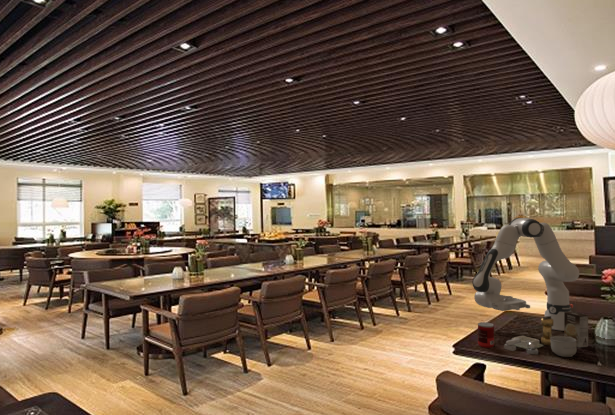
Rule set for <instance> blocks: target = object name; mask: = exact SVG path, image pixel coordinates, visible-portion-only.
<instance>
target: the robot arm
mask: <svg viewBox="0 0 615 415" xmlns="http://www.w3.org/2000/svg"><path fill="white" fill-rule="evenodd" d="M521 237H523V238H529V239H531V238H533V239H534V243H535V244H536V248H537V250H538V253H539V254H540V256H541V257H542V258H543V259H544V260H542V261H541V262H540V263H539V264H538V268H537V269H538V272H539V274H540V276H542V278H543V280H544V283H545V286H546V293H547V302H546V310H545V311H544V317H546V316H551V319H553V326H552V330H556V331H562V332H563V331H564V312H570V311H572V309H573V308H574V304H572V303H570V291H569V289H568V288H567V287H566V285H565V282H566V283H567V282H568V283H569V282H570V283H571V282H576V281H577V280H578V279H579V277H580V270H579V268H578V267H577V266H576V265H575V264H574V263H573V262H571V261H570V259H568V257H567V256H566V255H565V253H564V252H563V251H562V248H561V247H560V244H559V241H558V240H557V236H556V235H555V233H554V231H553V229H552V227H551V226H550V224H549V223H546V222H540V221H538V220H537V219H534V218H528V217H515V218H513V219H512V220H511V221H510V222H509V224H504V225H502V226H501V227H500V230H499V231H498V233H497V235H496V238H495V241H494V243H493V245H492V246H491V249H489V250H488V252H487V253H486V255H485V257H484V259H483V261H482V262H481V265H480V268H478V272H477V273H476V274H475V275H474V277H472V278H473V279H472V288H473V289H474V290H475V291H476V292H475V293H474V297H473V298H474V301H475V303H476V304H477V305H479V306H480V307H484V308H486V309H493V310H496V311H500V312H506V311H513V310H514V311H520V310H521V309H524V308H525V309H530V308H531V305H530V304H528V303H527V301H526V300H524V299H521V298H518V297H514V296H512V295H505V294H501V292H502V282H501V281H500V279H498V277H492V276H490V275H491V273H492V271H493V268H494V266H495V265H496V263H498V262H499V261H501V260H506V259H508V258H510V257H511V256H513V255H512V254H514V252H515V248H516V245H517V241H518V240H519V239H520V238H521Z"/></svg>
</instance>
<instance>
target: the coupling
mask: <svg viewBox="0 0 615 415" xmlns="http://www.w3.org/2000/svg"><path fill="white" fill-rule="evenodd" d="M540 325H541V326H542V336H541V337H540V341H541V343H540V344H541V345H544V346H547V347H548V346H549V347H551V340H550V337H553V331H552V330H553V329H552V326H553V319H551V316H546V317H545V316H543V317H540Z"/></svg>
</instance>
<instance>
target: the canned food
mask: <svg viewBox="0 0 615 415" xmlns="http://www.w3.org/2000/svg"><path fill="white" fill-rule="evenodd" d="M477 344H478V346H479V347H481V348H485V349H491V348H493V347H494V346H495V324H493V323H491V322H486V321H484V322H483V321H481V322H478V323H477Z"/></svg>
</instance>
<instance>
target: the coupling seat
mask: <svg viewBox="0 0 615 415" xmlns="http://www.w3.org/2000/svg"><path fill="white" fill-rule="evenodd" d="M526 340H530V341H531V342H532V343H533V344H534V345H535V347H536V349H539V348H541V347H545V345H543V344H541V343H540V340H539V339H538V338H533V337H529V336H526V335H519V336H515V337H512V338H511V339H508V340H506V341H505V344H503V349H505V350H507V351H510V352H511V351H512V352H514V351H517V348H522V349H524V350H526V348H530V347H529V346H528V345H527V344H526Z"/></svg>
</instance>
